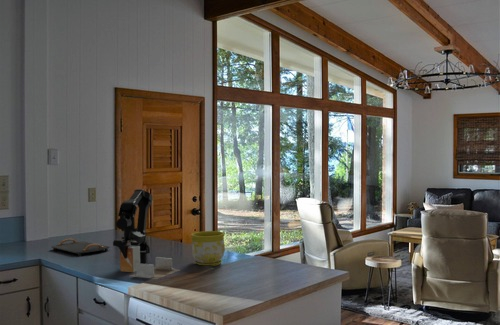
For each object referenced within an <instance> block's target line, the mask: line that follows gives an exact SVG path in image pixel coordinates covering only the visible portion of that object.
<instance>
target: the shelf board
mask: <svg viewBox="0 0 500 325" xmlns="http://www.w3.org/2000/svg"><path fill="white" fill-rule="evenodd" d="M174 269H175V270H172V271H169V270H160V269H156V266H154V277H153V278H148V279H151V280H159V279H161V278H163V277H166V276H169V275H171V274H174V273H177V272H179V271H181V269H176V268H174ZM135 275H137V273H136V272H135V273H132V274H130V275H129V277H133V278H134V276H135ZM141 278H142V277H140V279H141ZM142 279H143V278H142Z"/></svg>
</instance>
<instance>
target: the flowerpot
mask: <svg viewBox="0 0 500 325" xmlns="http://www.w3.org/2000/svg"><path fill="white" fill-rule="evenodd" d="M224 236H225V232H223V231H219V230H212V231H211V230H208V231H207V230H206V231H198V232H197V231H196V232H191V234H190V237H191V245H190V246H191V255H192V257H193V259H194V260H195V261H194V263H195V264H196V265H199V266H214V267H215V266H216V267H217V266H219V265H220V264H221V263H222V261H223V260H222V258H223V256H225V250H226V246H225V245H226V244H225V238H224Z"/></svg>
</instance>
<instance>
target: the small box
mask: <svg viewBox="0 0 500 325" xmlns="http://www.w3.org/2000/svg"><path fill="white" fill-rule="evenodd" d="M119 257H120V259H119V262H120V264H119V265H120V272H124V273H126V272H127V273H136V263H140V246H131V244H130V245H129V247H128V248H127V258H126V259H125V258H124V256H123V254H122V252H121V251H120V250H119Z"/></svg>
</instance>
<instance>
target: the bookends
mask: <svg viewBox="0 0 500 325" xmlns="http://www.w3.org/2000/svg"><path fill="white" fill-rule="evenodd" d="M173 260H174V259H173V258H171V257H161V256H155V260H154V261H155V263H154V264H151V263H145V264H142V263H136V272H135V274H136V273H137V275H135V276H134V277H135V278H141V277H142V279H149V278H153V277H154V267H156V269H160V270H169V271H172V270H175V269H176V268H174V267H173V266H174V265H173V264H174V263H173ZM134 277H133V278H134Z"/></svg>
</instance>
